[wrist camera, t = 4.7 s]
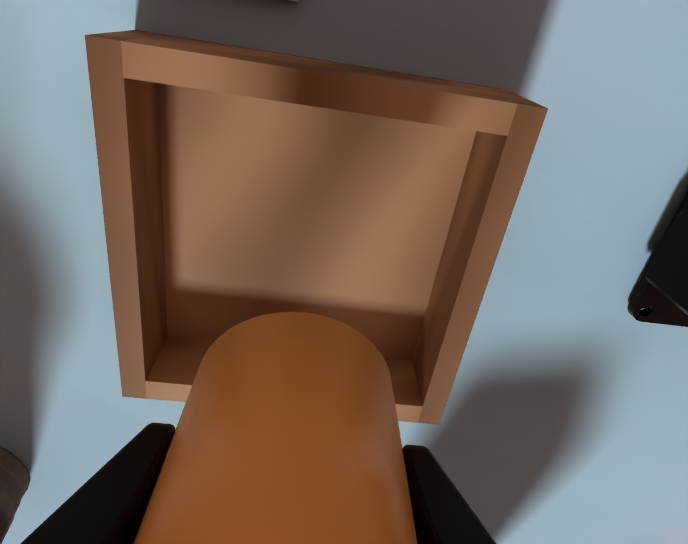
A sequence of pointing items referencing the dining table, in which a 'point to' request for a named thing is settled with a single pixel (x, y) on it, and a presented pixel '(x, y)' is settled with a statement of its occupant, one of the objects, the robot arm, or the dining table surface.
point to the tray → (298, 204)
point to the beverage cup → (10, 488)
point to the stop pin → (285, 443)
